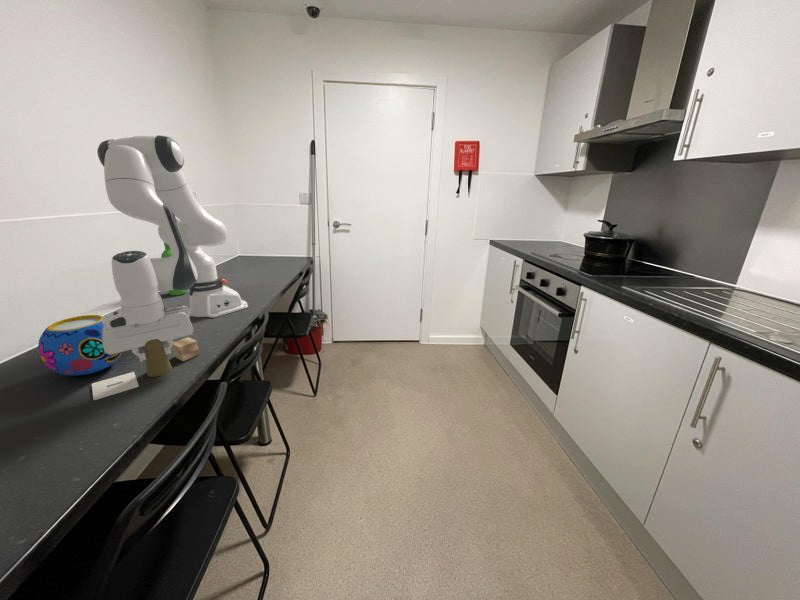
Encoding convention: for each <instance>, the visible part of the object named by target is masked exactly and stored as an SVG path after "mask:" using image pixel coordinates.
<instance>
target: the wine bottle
mask: <svg viewBox="0 0 800 600" xmlns="http://www.w3.org/2000/svg"><path fill="white" fill-rule="evenodd" d="M163 244H164V250H163V252H162V253H161V257H160V258H167V257H171V256H172V252H171V249H170V246H169V245H168V244H167V243H165V242H164V241H163ZM168 293H169V295H171V296H174V297H175V296H182V295H185V294H188V291H187V290H168Z"/></svg>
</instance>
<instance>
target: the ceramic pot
mask: <svg viewBox="0 0 800 600" xmlns="http://www.w3.org/2000/svg"><path fill="white" fill-rule="evenodd" d="M103 316H104V315H99V314H86V315H80V316H79V315H78V316H73V317H69V318H65V319H64V318H63V319H62V320H58V321H55V322H54V323H52V324H50V325H48V326H47V327H46V328H45V329H44V330H43V332H42V333H41V335H40V337H39V340H38V346H37V347H38V354H39V357H40V359H41V360H42V362H43V363H44V365H45V366H46V367H48V368H49V369H50V370H52V371H54V372H55V373H58V374H60V375H64V376H81V375H82V376H86V375H90V374H91V375H92V374H94V373H98V372H100V371H102V370H104V369H107V368H108V367H110V366H112V365H113V364H115V363H116V362H117V361H118V360H119V359H120V358H121V356H122V354H123V352H119V353H115V354H111V355H109V354H107V353H105V352H104V348H103V343H102V328H103V323H102V317H103Z"/></svg>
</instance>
